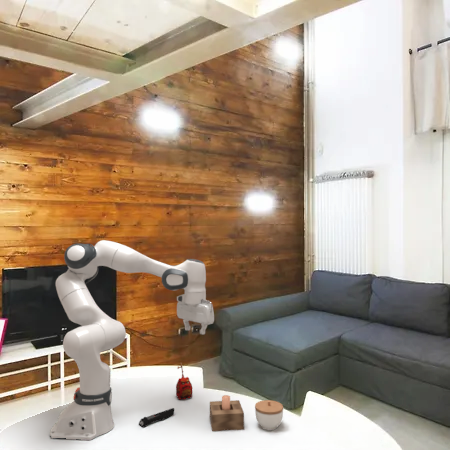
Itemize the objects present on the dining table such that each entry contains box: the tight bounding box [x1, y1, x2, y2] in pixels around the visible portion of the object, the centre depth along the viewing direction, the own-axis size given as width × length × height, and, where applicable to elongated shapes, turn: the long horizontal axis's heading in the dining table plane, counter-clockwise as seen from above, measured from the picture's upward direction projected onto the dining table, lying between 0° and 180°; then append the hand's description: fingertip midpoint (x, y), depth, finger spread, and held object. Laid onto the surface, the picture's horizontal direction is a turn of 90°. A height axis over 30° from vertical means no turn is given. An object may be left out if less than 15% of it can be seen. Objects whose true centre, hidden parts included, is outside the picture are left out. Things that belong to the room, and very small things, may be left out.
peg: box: [221, 394, 231, 410], centre depth 152 cm, size 3×3×10 cm
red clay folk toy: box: [175, 362, 194, 401], centre depth 177 cm, size 8×7×15 cm
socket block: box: [209, 400, 245, 432], centre depth 152 cm, size 12×12×6 cm
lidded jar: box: [254, 399, 284, 431], centre depth 149 cm, size 11×11×9 cm
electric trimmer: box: [138, 407, 175, 428], centre depth 154 cm, size 4×16×3 cm, turn 133°
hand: (194, 332), depth 161 cm, fingers open, 8 cm apart
